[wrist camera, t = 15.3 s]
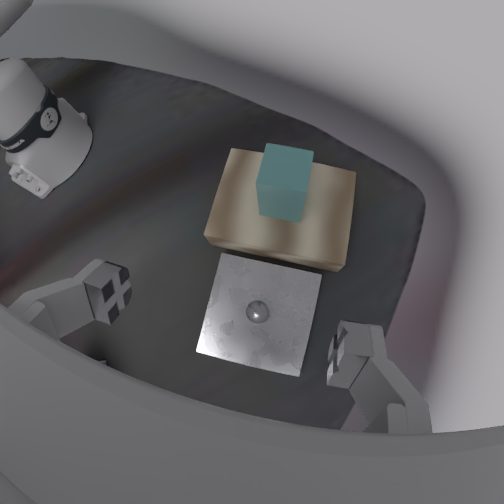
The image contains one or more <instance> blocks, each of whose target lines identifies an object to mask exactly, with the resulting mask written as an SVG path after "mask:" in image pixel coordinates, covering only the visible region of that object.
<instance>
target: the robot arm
mask: <svg viewBox="0 0 504 504" xmlns="http://www.w3.org/2000/svg"><path fill="white" fill-rule="evenodd" d="M32 2H33V0H0V37H1V36H2V35H3V34H4V33H5V32H6V31H7V30H8V29H9V28H10V27H11V26H12V25H13V24H14V23H15V22H16V21H17V20H18V19H19V18H20V17H21V15H22V14H23V13H24V12H25V11H26V10H27V9H28V8H29V7H30V6H31V5H32ZM91 143H92V131H91V128H90V127H89V126H88V124H87V115H86V114H85V113H78V112H77V111H76V110H75V109H74V108H73V107H72V106H71V105H70V104H69V103H68V102H67V101H66V100H65V99H63V98H57V97H56V96H55V95H54V92H53V91H52V90H51V89H49V88H48V87H47V86H46V85H43V84H42V83H41V82H40V81H39V79H38V78H37V77H36V75H35V74H34V73H33V72H32V70H31V69H30V68H29V66H28V65H27V64H26V63H25V62H24V61H23V60H21V59H16V58H15V59H7V60H4V61H2V62H0V144H1V146H2V147H3V148H4V149H5V150H6V162H7V163H8V164H9V165H10V166H11V167H12V168H11V170H10V171H9V174H10V175H11V176H12V180H13V181H14V182H15V183H16V184H18V185H20V186H21V187H23V188H24V189H26V190H28V191H29V192H31V193H32V194H34V195H36V196H37V197H39V198H41V199H44V198H45V197H46V196H47V195H48V194H49V193H50V192H51V191H52V190H53V189H54V188H55V187H56V186H58V185H59V184H61V183H63V182H64V181H65V180H67V179H68V178H69V177H70V176H71V175H72V174H73V173H74V172H75V171H76V170H77V169H78V168H79V166H80V165H81V164H82V162H83V161H84V159H85V157H86V155H87V154H88V151H89V149H90V146H91ZM129 277H130V276H129V271H128V269H127V268H126V267H123V266H120V265H117V264H114V263H111V262H108V261H104V260H101V259H94V260H93V261H92V262H90V263H89V264H88V265H87V266H86V267H85V268H84V269H82V270H81V271H80V272H79V273H78V274H77V275H76V276H74V277H73V278H67V279H64V280H61V281H58V282H54V283H51V284H48V285H45V286H42V287H39V288H36V289H33V290H30V291H27V292H25V293H24V294H22V295H21V296H20V297H19V298H18V299H17V300H16V301H15V302H14V303H13V304H12V305H11V306H10V307H8V308H6V307H5V306H3V305H2V304H0V504H504V426H497V427H490V428H483V429H476V430H468V431H458V432H445V433H432V426H431V419H430V413H429V407H428V404H427V402H426V401H425V400H424V399H423V397H422V396H421V395H420V394H419V393H418V392H417V390H416V389H415V388H414V386H412V384H411V383H410V382H409V381H408V379H407V378H406V377H405V376H404V375H403V373H402V372H401V371H400V370H399V369H398V367H397V366H396V365H395V364H394V363H393V362H392V360H388V358H387V352H386V346H385V340H384V334H383V329H382V327H381V326H379V325H372V324H364V323H359V322H353V321H348V320H341V321H340V323H339V325H338V327H337V334H336V335H335V336H333V339H332V341H331V344H330V348H329V353H328V361H329V363H330V366H329V368H328V370H327V385H330V386H335V387H341V388H347V389H349V391H350V393H351V395H352V397H353V399H354V401H355V402H356V404H357V406H358V408H359V410H360V412H361V413H362V415H363V417H364V419H365V421H366V423H367V424H368V427H367V428H366V429H365V430H364V431H363V432H354V431H343V430H334V429H325V428H318V427H311V426H304V425H298V424H292V423H286V422H281V421H276V420H271V419H266V418H261V417H257V416H252V415H248V414H244V413H240V412H236V411H232V410H228V409H224V408H221V407H217V406H214V405H210V404H207V403H203V402H200V401H197V400H194V399H191V398H188V397H185V396H182V395H179V394H176V393H173V392H170V391H167V390H164V389H162V388H159V387H156V386H154V385H151V384H149V383H146V382H144V381H141V380H139V379H136V378H134V377H131V376H129V375H127V374H124V373H122V372H120V371H118V370H115V369H113V368H111V367H109V366H107V365H104V364H102V363H100V362H98V361H96V360H94V359H92V358H90V357H88V356H86V355H84V354H82V353H80V352H78V351H76V350H74V349H73V348H71V347H69V346H67V345H65V344H63V343H62V342H61V341H60V339H59V338H61V337H63V336H65V335H67V334H69V333H71V332H72V331H74V330H76V329H78V328H80V327H82V326H84V325H86V324H88V323H89V322H91V321H93V320H94V319H96V320H99V321H101V322H104V323H107V324H109V325H111V324H112V323H113V322H114V321H115V319H116V318H117V317H118V316H119V310H120V309H123V308H125V307H126V306H127V305H128V303H129V301H130V298H131V294H132V289H131V285H130V283H129V282H128V281H127V280H128V278H129Z"/></svg>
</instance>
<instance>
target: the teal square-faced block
mask: <svg viewBox="0 0 504 504" xmlns="http://www.w3.org/2000/svg"><path fill="white" fill-rule="evenodd" d="M313 155H314V151H309V150H304V149H298V148H293V147H288V146H282V145H276V144H270V143H266V147H265V151H264V154H263V158H262V162H261V165H260V169H259V173H258V176H257V180H256V190H257V198H258V207H259V215H262V216H267V217H272V218H277V219H282V220H287V221H291V222H296V223H300V220H301V215H302V211H303V207H304V203H305V198H306V194H307V189H308V183H309V178H310V172H311V166H312V160H313Z"/></svg>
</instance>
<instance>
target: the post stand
mask: <svg viewBox="0 0 504 504" xmlns="http://www.w3.org/2000/svg"><path fill="white" fill-rule="evenodd" d="M321 277H322V275H321V274H317V273H312V272H307V271H303V270H298V269H293V268H289V267H284V266H280V265H275V264H271V263H266V262H261V261H257V260H252V259H248V258H243V257H239V256H234V255H230V254H225V253H222V254H221V258H220V261H219V265H218V269H217V272H216V276H215V280H214V284H213V287H212V291H211V295H210V299H209V303H208V307H207V310H206V314H205V318H204V322H203V326H202V330H201V334H200V338H199V342H198V346H197V350H196V352H200V353H203V354H207V355H210V356H214V357H217V358H221V359H224V360H228V361H232V362H236V363H240V364H244V365H248V366H252V367H256V368H260V369H265V370H269V371H274V372H278V373H283V374H288V375H293V376H298V377H299V375H300V371H301V367H302V363H303V359H304V355H305V351H306V347H307V343H308V338H309V334H310V330H311V325H312V321H313V316H314V312H315V307H316V302H317V297H318V292H319V287H320V282H321Z"/></svg>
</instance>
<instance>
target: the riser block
mask: <svg viewBox="0 0 504 504" xmlns="http://www.w3.org/2000/svg"><path fill="white" fill-rule="evenodd" d="M263 154H264V153H260V152H254V151H248V150H241V149H234V148H231V151H230V154H229V157H228V160H227V163H226V166H225V169H224V172H223V175H222V178H221V181H220V184H219V187H218V190H217V193H216V196H215V200H214V203H213V206H212V209H211V212H210V216H209V219H208V222H207V225H206V229H205V232H204V236H205V237H206V239H207V240H208V242H209V243H210V245H213V246H218V247H222V248H227V249H231V250H236V251H241V252H245V253H250V254H254V255H259V256H264V257H268V258H273V259H277V260H282V261H287V262H291V263H296V264H300V265H305V266H310V267H314V268H319V269H323V270H328V271H333V272H338V271H339V270H340V269H341V268H342V267H344V266H345V261H346V255H347V248H348V241H349V234H350V226H351V218H352V210H353V201H354V191H355V181H356V172H353V171H349V170H345V169H341V168H336V167H332V166H328V165H323V164H319V163H314V162H312V166H311V172H310V178H309V183H308V189H307V194H306V198H305V203H304V207H303V211H302V215H301V220H300V223H296V222H291V221H287V220H282V219H277V218H272V217H267V216H262V215H259V207H258V198H257V190H256V180H257V176H258V173H259V169H260V165H261V162H262V158H263Z"/></svg>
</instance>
